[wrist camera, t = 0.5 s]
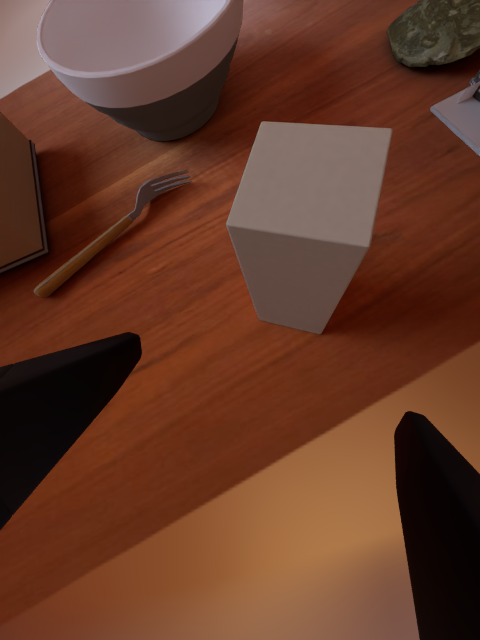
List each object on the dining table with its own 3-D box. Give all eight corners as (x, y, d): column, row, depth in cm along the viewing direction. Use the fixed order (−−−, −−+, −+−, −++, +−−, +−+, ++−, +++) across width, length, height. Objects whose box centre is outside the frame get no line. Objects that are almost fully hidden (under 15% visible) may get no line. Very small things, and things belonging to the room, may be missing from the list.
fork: (34, 300, 26) (188, 168, 27) (22, 286, 26) (176, 155, 27) (53, 304, 28) (193, 183, 29) (42, 291, 28) (182, 171, 29)
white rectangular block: (321, 335, 22) (370, 247, 9) (258, 320, 23) (224, 224, 10) (333, 276, 23) (393, 127, 10) (273, 265, 24) (261, 120, 12)
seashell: (373, 15, 29) (493, -130, 21) (399, 48, 33) (505, -62, 26) (409, 94, 28) (550, -31, 20) (430, 117, 32) (552, 23, 24)
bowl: (286, 115, 29) (286, -11, 20) (132, 201, 29) (64, 114, 20) (212, 31, 36) (186, -94, 26) (85, 102, 36) (17, 2, 27)
